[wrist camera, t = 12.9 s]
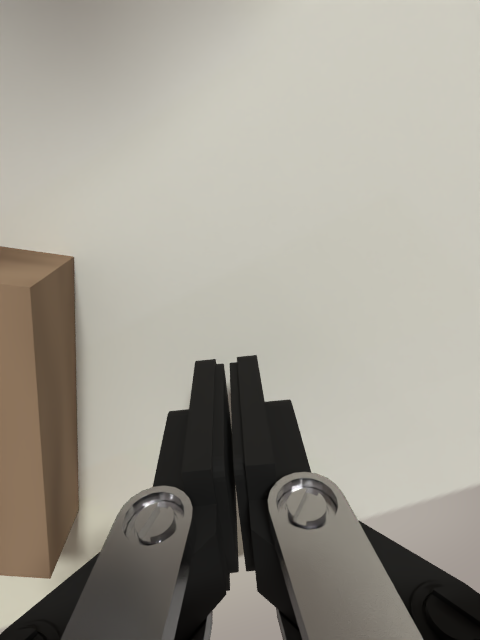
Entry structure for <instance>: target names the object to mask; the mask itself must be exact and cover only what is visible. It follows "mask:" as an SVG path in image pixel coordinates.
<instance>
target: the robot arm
mask: <svg viewBox="0 0 480 640" xmlns="http://www.w3.org/2000/svg"><path fill="white" fill-rule="evenodd" d="M230 385H231V412H232V429H231V420H230V412H229V404H228V395H227V387H226V378H225V370H224V364H216V360H215V359H213V360H202V361H195V368H194V376H193V384H192V391H191V399H190V407H189V409H188V410H178V411H170V412H169V413H168V416H167V421H166V426H165V431H164V435H163V440H162V445H161V450H160V455H159V460H158V464H157V469H156V474H155V479H154V484H153V487H152V488H149V489H146V490H143V491H141V492H140V493H138V494H136V495H135V496H133V497H132V498H131V499H130V500H129V501H128V502H126V503H125V504H124V505H123V507H122V508H121V510H120V512H119V513H118V515H117V517H116V519H115V521H114V523H113V525H112V528H111V530H110V532H109V534H108V536H107V539H106V541H105V543H104V545H103V547H102V550H101V552H100V553H98V554H97V555H96V556H95V557H93V558H92V559H91V560H90V561H89V562H87V563H86V564H85V565H84V566H82V567H81V568H80V569H79V570H78V571H76V572H75V573H74V574H73V575H71V576H70V577H69V578H68V579H67V580H65V581H64V582H63V583H62V584H60V585H59V586H58V587H57V588H56V589H54V590H53V591H52V592H51V593H49V594H48V595H47V596H46V597H45V598H43V599H42V600H41V601H40V602H38V603H37V604H36V605H35V606H34V607H32V608H31V609H30V610H29V611H27V612H26V613H25V614H24V615H23V616H21V617H20V618H19V619H18V620H16V621H15V622H14V623H13V624H12V625H10V626H9V627H8V628H7V629H5V630H4V631H3V632H2V633H1V634H0V640H210V635H211V629H212V610H213V609H214V608H215V607H216V605H217V604H218V603H219V602H220V601H221V600H222V599H223V597H224V596H225V595H226V591H228V590H230V578H229V577H230V573H234V572H238V571H239V570H238V568H239V567H238V541H237V516H236V492H237V500H238V508H239V516H240V524H241V532H242V540H243V549H244V557H245V564H246V571H254V570H255V571H256V581H257V590H258V592H259V593H260V594H261V595H263V596H264V597H265V598H266V599H267V600H268V601H269V602H270V603H272V604H273V605H274V606H275V607H276V610H277V618H278V622H279V625H280V629H281V633H282V637H283V640H480V594H479V593H477V592H476V591H475V590H473V589H472V588H471V587H469V586H468V585H466V584H465V583H463V582H462V581H460V580H458V579H457V578H455V577H453V576H451V575H450V574H448V573H446V572H445V571H443V570H441V569H440V568H438V567H436V566H435V565H433V564H431V563H429V562H428V561H426V560H424V559H423V558H421V557H419V556H418V555H416V554H414V553H412V552H411V551H409V550H407V549H405V548H404V547H402V546H401V545H399V544H397V543H396V542H394V541H392V540H390V539H389V538H387V537H386V536H384V535H382V534H380V533H379V532H377V531H375V530H373V529H372V528H370V527H368V526H367V525H365V524H364V523H362V522H360V521H358V520H357V518H356V516H355V514H354V512H353V510H352V509H351V507H350V505H349V503H348V501H347V500H346V498H345V496H344V494H343V493H342V491H341V490H340V489H339V487H338V486H337V485H336V484H335V483H334V482H332V481H331V480H329V479H328V478H326V477H324V476H321V475H319V474H316V473H311V470H310V467H309V463H308V459H307V456H306V452H305V449H304V445H303V442H302V438H301V434H300V431H299V427H298V424H297V420H296V417H295V413H294V409H293V406H292V403H291V400H281V401H270V402H264V396H263V390H262V384H261V378H260V373H259V367H258V361H257V355H254V356H243V357H237V362H235V363H230ZM235 483H236V491H235Z"/></svg>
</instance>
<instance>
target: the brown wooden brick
mask: <svg viewBox="0 0 480 640" xmlns="http://www.w3.org/2000/svg"><path fill="white" fill-rule="evenodd" d="M78 510H79V498H78V447H77V396H76V345H75V293H74V257H71V256H64V255H57V254H50V253H43V252H36V251H29V250H22V249H14V248H7V247H0V575H4V576H19V577H34V578H49V579H50V578H51V576H52V573H53V571H54V568H55V566H56V564H57V561H58V559H59V556H60V554H61V551H62V549H63V547H64V544H65V542H66V539H67V537H68V534H69V532H70V530H71V527H72V525H73V522H74V520H75V517H76V515H77V513H78Z"/></svg>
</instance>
